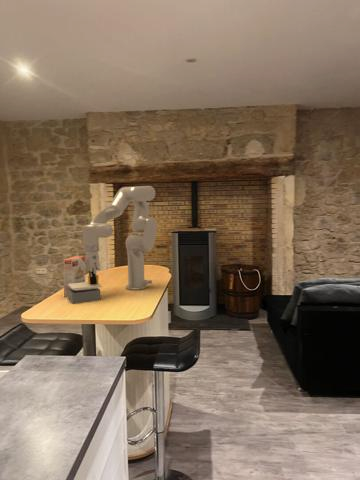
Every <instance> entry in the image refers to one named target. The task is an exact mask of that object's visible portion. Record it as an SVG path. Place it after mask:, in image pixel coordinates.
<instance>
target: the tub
mask: <svg viewBox="0 0 360 480" xmlns="http://www.w3.org/2000/svg"><path fill="white" fill-rule="evenodd" d="M67 299H68V301H70V304H73V305H74V304H80V303H81V304H82V303H87V302H96V301H101V289H100V288H98V289H90V290H80V291H75V290H72V289H68V297H67Z"/></svg>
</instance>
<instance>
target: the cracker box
mask: <svg viewBox="0 0 360 480" xmlns="http://www.w3.org/2000/svg"><path fill="white" fill-rule="evenodd" d="M62 265H63V266H62V267H63V268H62V269H63V296H64V297H63V298H68V289H71V288H70V287H69V286H68V284H71V283H83V282H86V256H83V255H77V256H76V255H75V256H71V257H68V258H64V259H63V260H62Z"/></svg>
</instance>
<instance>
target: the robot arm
mask: <svg viewBox="0 0 360 480" xmlns="http://www.w3.org/2000/svg"><path fill="white" fill-rule="evenodd" d="M155 197H156V190H155V188H154V187H153V186H152V185H140V186H139V185H137V186H123V187H121V188H119V189H118V191H117V192H116V194H115V195H114V197H113V199H112V200H111V201H110V203H109V204H108V206H106V207H105V208H104V209H102V210H101V211H100V212H97V214H96V215H95V216H94V217H93V219H92V220H91V222H90V224H84V225H83V227H82V236H83V237H82V238H83V239H82V241H83V252H84V253H85V269H87V271H88V276H91V277H90V284H97V280H96V275H97V271H98V272H99V271H100V269H101V265H100V256H99V251H100V241H99V239H100V238H102V239H107V238H109V237H112V235H113V233H114V228H113V226H112V225H111V224H109V223H108V222H109V221H111V220H114V219H116V218H119V217H120V216H122V215H123V213H124V212H125V210H126V208H127V207H128V205H129V204H130V203H133V206H134V212H133V216H132V222H131V230H132V232H134V233H138V234H130V235H128V236H127V237H126V239H125V248H126V252H127V274H128V275H127V278H128V279H127V281H128V283H127V285H125V288H126V289H127V290H132V291H138V290H139V291H140V289H141V290H144V289H147V288H148V284H152V283H153V280H152V279H149V280H148V279H145V257H144V254H143V252H145V253H146V252H147V253H148V252H150V251H152V250H153V248H154V246H155V243H156V236H157V232H158V230H157V229H158V223H157V220H156V218H154V217H151V216H149V213H150V208H149V205H148V203H147V202H150V201H152V200H154V198H155Z"/></svg>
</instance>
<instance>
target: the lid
mask: <svg viewBox="0 0 360 480" xmlns="http://www.w3.org/2000/svg"><path fill="white" fill-rule="evenodd" d="M90 277H91V276H89V275H88V276H87V278H88V279H87V280H88V281H85V282H83V283H71V284H68V286H69V287H70V288H71V289H72V290H75V291H80V290H90V289H99V288H102V287H103V285H102V284H100V283H99V275H98V274H96V280H97V284H90Z"/></svg>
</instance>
